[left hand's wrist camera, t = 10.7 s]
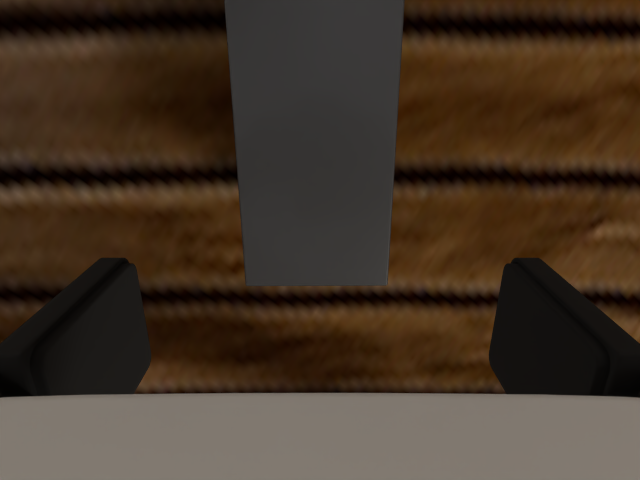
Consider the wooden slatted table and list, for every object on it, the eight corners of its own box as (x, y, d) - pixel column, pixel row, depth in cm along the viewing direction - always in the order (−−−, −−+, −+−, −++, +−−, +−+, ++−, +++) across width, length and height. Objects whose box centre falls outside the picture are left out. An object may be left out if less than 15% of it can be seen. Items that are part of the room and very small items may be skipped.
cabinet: (249, -192, 21) (193, -404, 11) (380, -193, 21) (428, -406, 11) (269, 216, 28) (245, 286, 19) (365, 215, 28) (387, 286, 19)
